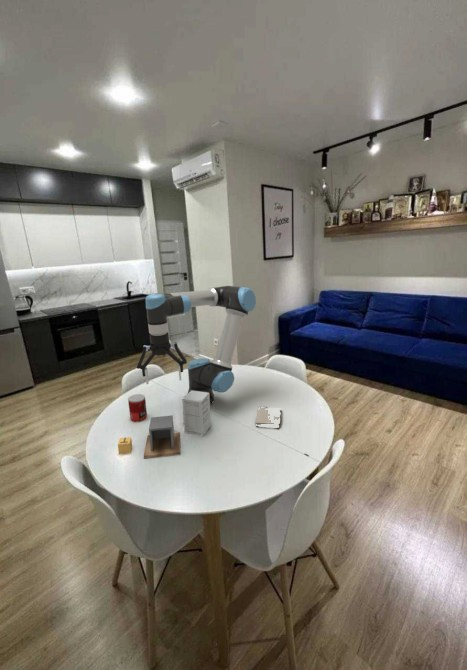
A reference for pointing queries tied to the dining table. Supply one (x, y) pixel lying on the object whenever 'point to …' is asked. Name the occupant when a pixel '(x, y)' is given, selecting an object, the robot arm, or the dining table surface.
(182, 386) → the dining table surface
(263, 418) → the washcloth
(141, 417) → the canned food
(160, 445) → the walnut board
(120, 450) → the letter cube
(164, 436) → the grey box with opening
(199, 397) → the supplement box
